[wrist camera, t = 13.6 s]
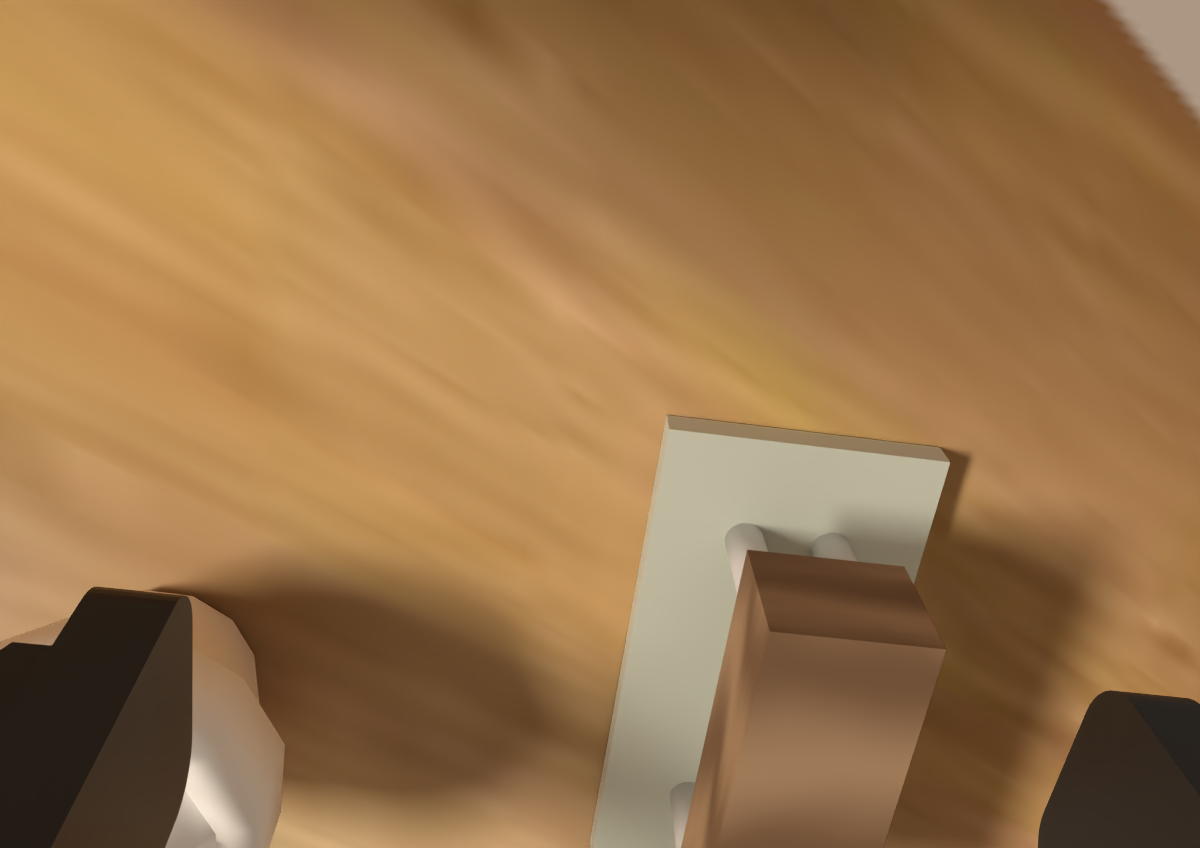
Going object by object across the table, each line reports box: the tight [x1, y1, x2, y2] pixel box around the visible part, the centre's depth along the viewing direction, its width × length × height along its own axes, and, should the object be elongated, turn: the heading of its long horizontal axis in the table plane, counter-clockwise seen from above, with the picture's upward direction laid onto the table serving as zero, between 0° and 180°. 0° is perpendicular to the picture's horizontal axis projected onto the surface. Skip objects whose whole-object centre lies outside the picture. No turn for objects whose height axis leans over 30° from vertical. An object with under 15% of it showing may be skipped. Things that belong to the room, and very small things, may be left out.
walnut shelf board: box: [681, 550, 947, 848], centre depth 37 cm, size 16×5×4 cm, turn 172°
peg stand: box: [590, 415, 950, 848], centre depth 42 cm, size 10×20×5 cm, turn 172°
